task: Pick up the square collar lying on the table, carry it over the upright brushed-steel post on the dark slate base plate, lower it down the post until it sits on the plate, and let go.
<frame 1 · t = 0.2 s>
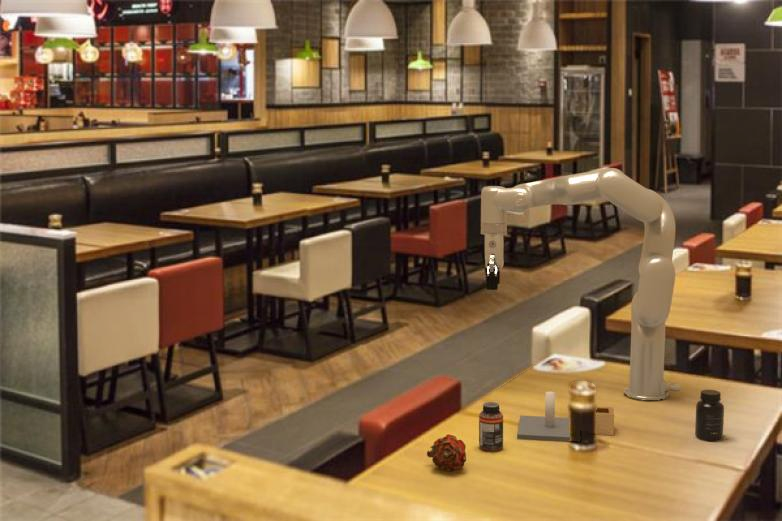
hand: (493, 286, 296), 31 cm above the table, fingers open, 9 cm apart
supplement bottle: (708, 438, 256), on the table
collar: (600, 430, 262), on the table
dragon fruit: (447, 468, 236), on the table
supplement bottle 2: (490, 449, 249), on the table
shaft block: (549, 430, 262), on the table
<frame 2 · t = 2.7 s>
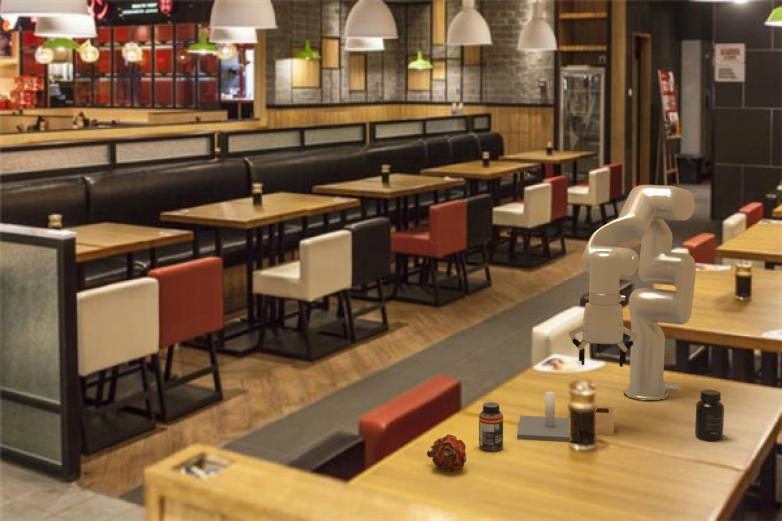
hand: (601, 364, 259), 18 cm above the table, fingers open, 9 cm apart
nothing on the table moved.
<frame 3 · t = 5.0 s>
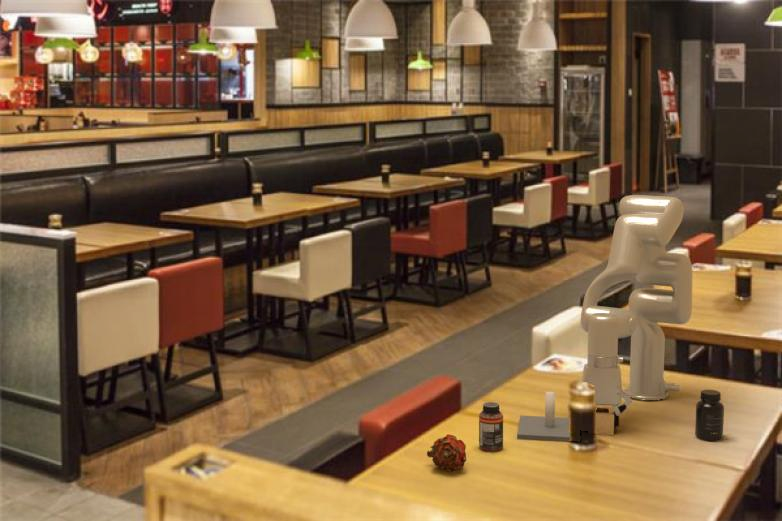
hand: (600, 427, 262), 1 cm above the table, fingers closed on collar, 6 cm apart
collar: (600, 430, 262), on the table, touching gripper
everything else where it was.
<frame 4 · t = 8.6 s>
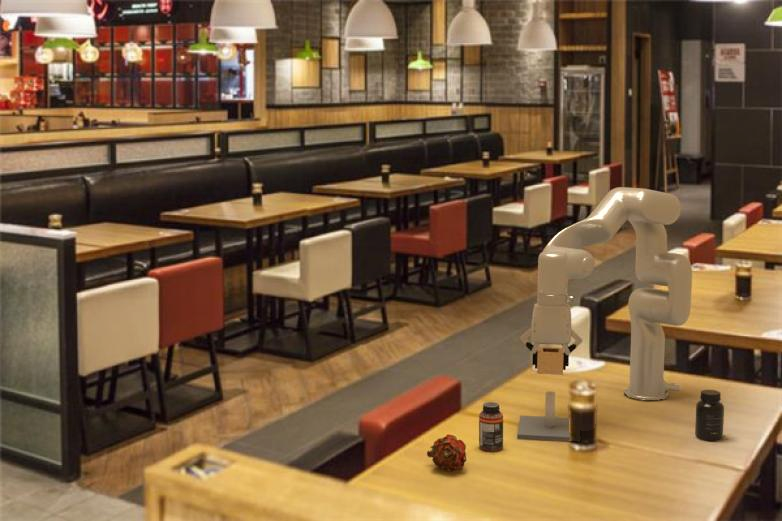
hand: (550, 367, 260), 17 cm above the table, fingers closed on collar, 6 cm apart
collar: (550, 371, 260), point 16 cm above the table, touching gripper
everything else where it was.
when the fingers open (3 cm above the table, at t = 12.4 s): collar drops 1 cm, resting on shaft block.
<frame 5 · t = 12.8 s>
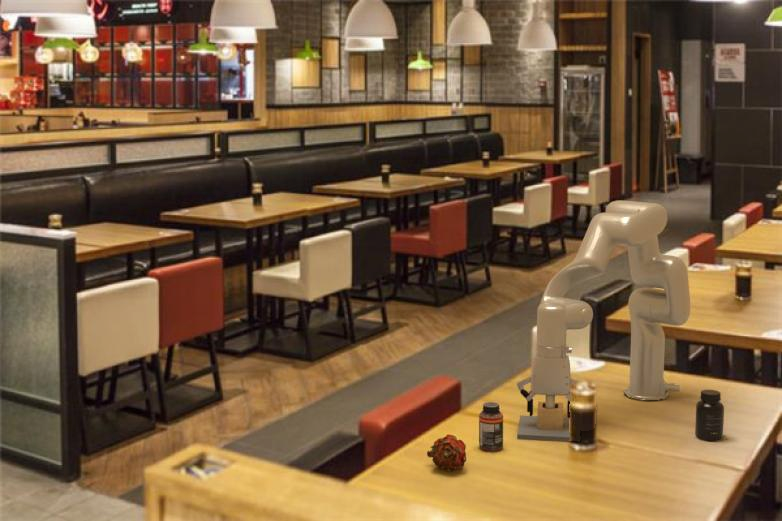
hand: (549, 415, 262), 4 cm above the table, fingers open, 9 cm apart
collar: (550, 426, 262), point 1 cm above the table, touching shaft block
everything else where it was.
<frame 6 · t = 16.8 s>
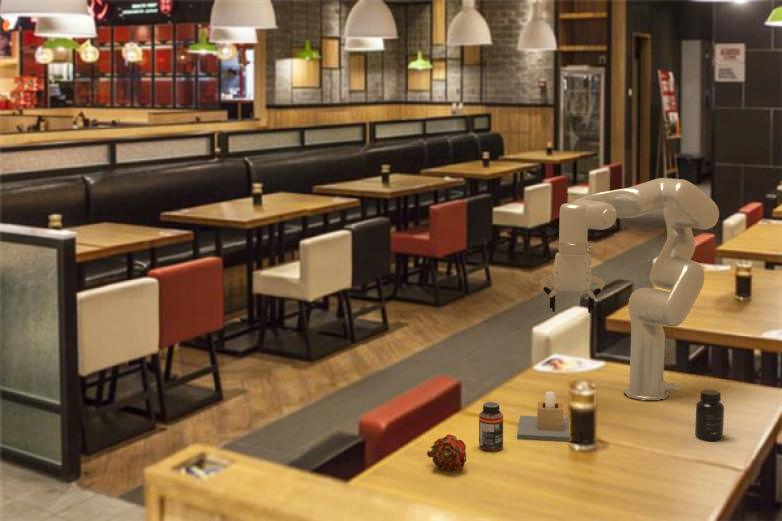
hand: (571, 311, 274), 28 cm above the table, fingers open, 9 cm apart
nothing on the table moved.
at the end: collar 0.1 cm off-centre on the shaft block, point 1.2 cm above the shaft block's base; collar tilted 0°; the gripper is holding nothing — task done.
